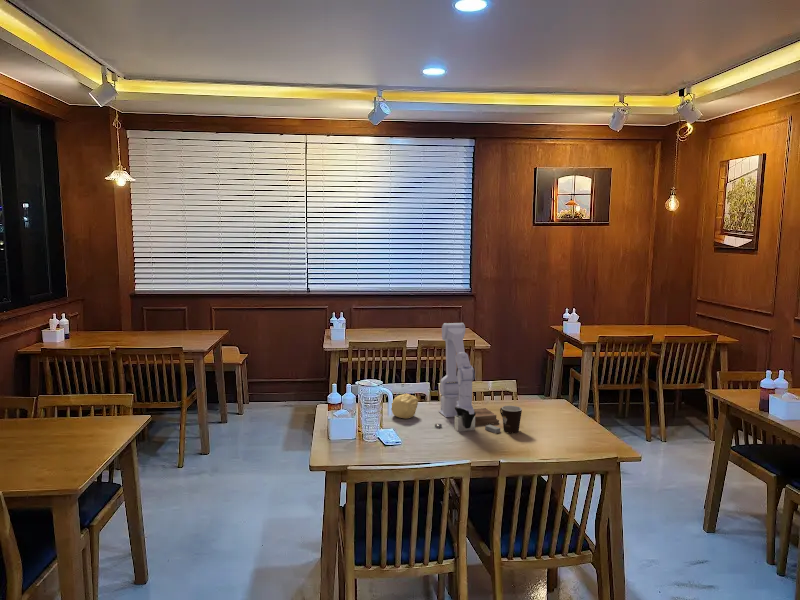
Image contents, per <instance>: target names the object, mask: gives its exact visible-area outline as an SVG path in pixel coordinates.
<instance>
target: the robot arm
mask: <svg viewBox="0 0 800 600" xmlns="http://www.w3.org/2000/svg"><path fill="white" fill-rule="evenodd" d="M465 335H466V325H465V324H464V322H453V323H452V322H451V323H450V322H448V323H447V322H444V323H443V324H442V325H441V339H442V341H444V342H445V373H446V374H445V376H443V377H442V378H440V381H439V382H440V383H439V393H440V395H441V397H440V410H438V412H439V413H440V414H441V415H442V416H444V417H445V418H453V417H454V418H455V415H463V417H464V423H465V428H470V427H471V423H472V420H473V418H474V416H475V415H476V413H475V412H474V409H475V408H474V407H473V404H472V403H473V381H474V380H475V378H476V377H475V375H476V374H475V369H474V367H473V365H471V361H470V358H469V355H468V352H465V345H464V338H465Z"/></svg>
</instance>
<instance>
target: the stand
mask: <svg viewBox="0 0 800 600" xmlns="http://www.w3.org/2000/svg"><path fill="white" fill-rule="evenodd" d="M473 409H474V412H475V413H476V415H475V427H476V426H477V427H478V426H487V425H496V424H498V425H499V424H500V420H499V419H498V418H497V414H495V413H494V412H492V411H491V410H489V409H488V408H486V407H485V408H484V407H483V408H481V407H480V408H473Z"/></svg>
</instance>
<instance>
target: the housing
mask: <svg viewBox="0 0 800 600" xmlns="http://www.w3.org/2000/svg"><path fill="white" fill-rule="evenodd" d="M453 426H454V430H456V431H457V432H459V433H460V432H467V431H475V430H476V426H475V416H474V418H473V420H472V423H471V427H470V428H465V423H464V417H463V415H455V417H454V424H453Z"/></svg>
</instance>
